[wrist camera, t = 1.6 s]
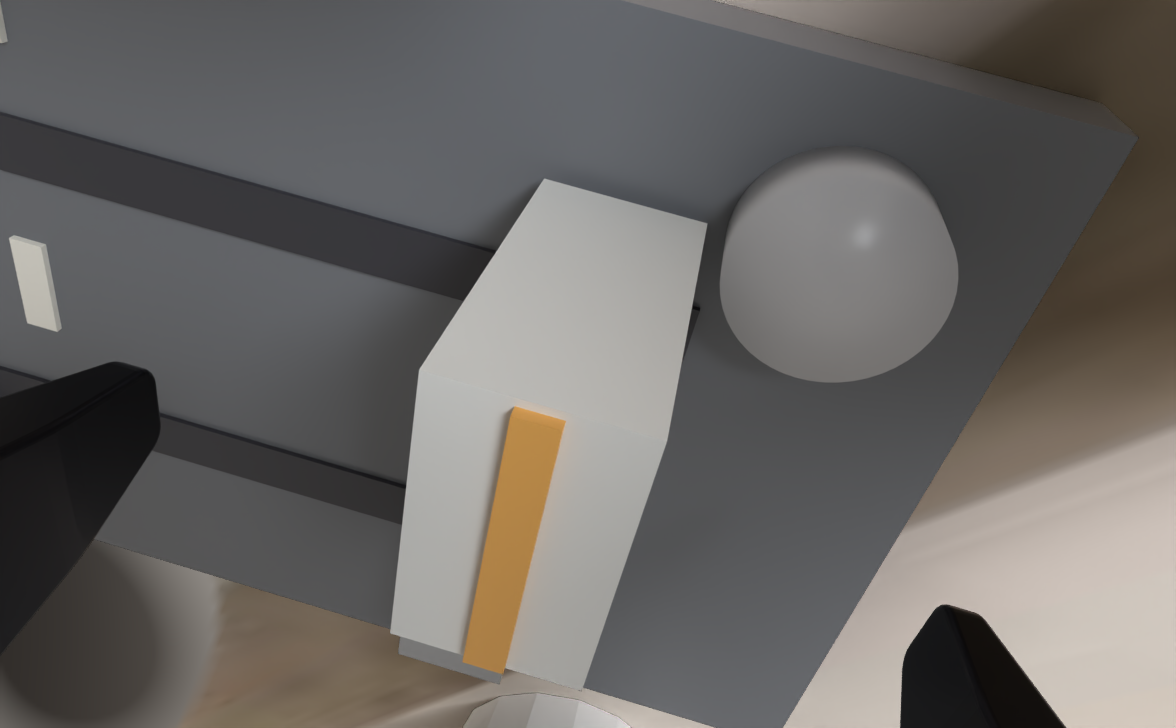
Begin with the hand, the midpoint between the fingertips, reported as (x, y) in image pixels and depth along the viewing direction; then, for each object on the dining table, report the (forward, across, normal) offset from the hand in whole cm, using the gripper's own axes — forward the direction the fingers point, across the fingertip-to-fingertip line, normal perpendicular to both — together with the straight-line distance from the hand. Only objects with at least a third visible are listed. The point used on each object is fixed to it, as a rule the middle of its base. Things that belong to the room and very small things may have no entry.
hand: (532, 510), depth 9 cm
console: (+6, +5, +3) cm, 8 cm away
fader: (+4, 0, 0) cm, 4 cm away
